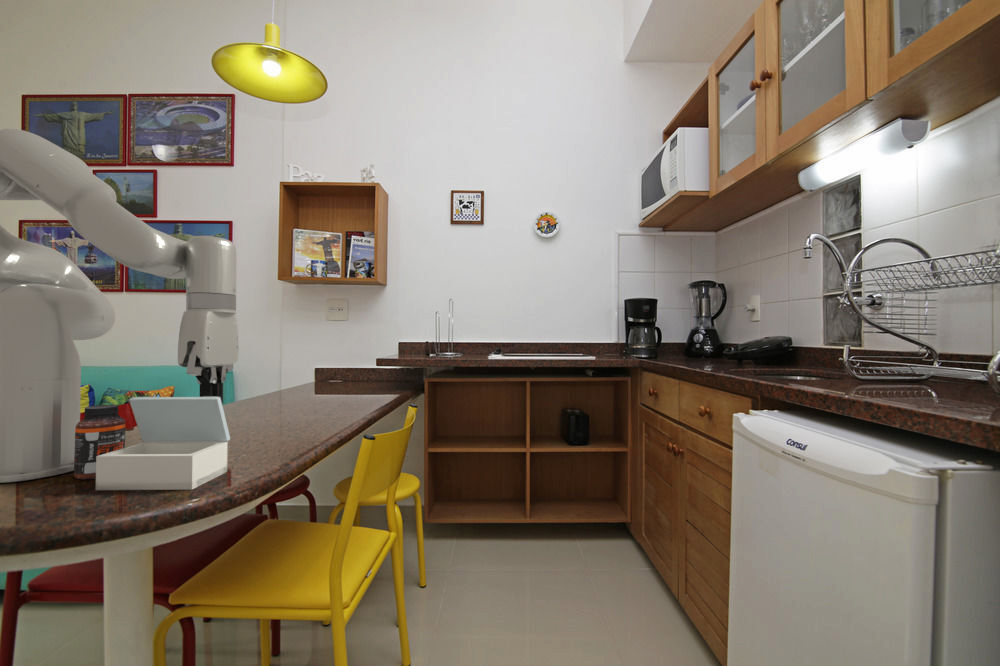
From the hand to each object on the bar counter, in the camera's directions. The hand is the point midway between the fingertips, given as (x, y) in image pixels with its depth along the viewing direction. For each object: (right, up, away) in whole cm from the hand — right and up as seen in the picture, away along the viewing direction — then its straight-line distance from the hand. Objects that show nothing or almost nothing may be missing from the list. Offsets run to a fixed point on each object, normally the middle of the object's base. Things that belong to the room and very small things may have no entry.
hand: (211, 404), depth 74 cm
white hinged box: (0, -10, -10) cm, 14 cm away
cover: (0, -1, -7) cm, 8 cm away
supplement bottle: (-13, -10, -8) cm, 18 cm away
